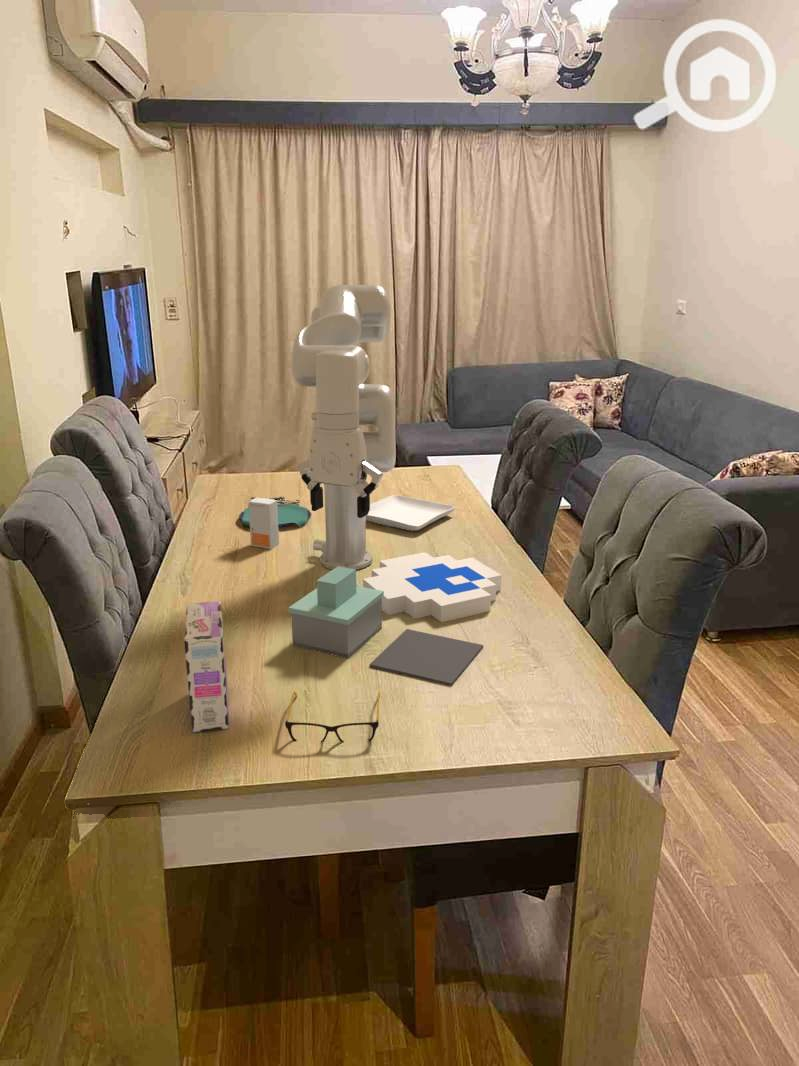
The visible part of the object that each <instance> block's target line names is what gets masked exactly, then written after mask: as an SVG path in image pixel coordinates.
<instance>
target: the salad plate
mask: <svg viewBox="0 0 799 1066" xmlns="http://www.w3.org/2000/svg"><path fill="white" fill-rule="evenodd" d="M455 509H456V506H454V505H452V504H451V505H450V504H446V503H441V502H436V501H433V500H426V499H421V498H417V497H410V496H405V495H399V494H392V495H389V496H387V497H385V498H382V499H380V500H378V501H376V502H372V503H370V511H369V513H368V515H366V521H368V522H371V523H372V522H373V523H372V524H376V523H377V525H380V524H382V525H381V526H385V525H387V526H386V527H390V526H391V527H390V528H394V527H396V528H395V529H399V528H401V529H400V530H404V529H406V530H405V531H409V530H410V531H412V532H416V531H419V530H421V529H423V528H424V527H426V526H429V525H430V524H432V523H434V522H436V521H438V520H441V518H444V517H446V516H448V515H449V514H451V513H452V512H454V511H455Z"/></svg>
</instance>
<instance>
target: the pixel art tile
mask: <svg viewBox="0 0 799 1066" xmlns="http://www.w3.org/2000/svg"><path fill="white" fill-rule="evenodd" d="M362 587H365V588H370V589H375V590H380V591H384V596H383V597H382V612H383V613H385V614H386V615H387V614H388V615H387V616H390V615H395V614H399V612H400V613H403V612H405V613H406V614H408V615H409V616H410V615H411V616H410V617H412V618H413V619H419V618H422V617H423V616H424V617H428V616H432V617H433V618H435V619H436V620H437V621H438V622H440V623H443V622H447V621H448V622H449V621H452V620H453V621H454V620H457V619H462V618H466V617H469V616H470V617H471V616H475V615H479V614H483V613H487V612H491V610H492V609H491V607H492V602H494V601H496V600H497V592H499V591H502V574H500V573H499V572H497V571H495V570H494V569H492V568H490V567H489V566H487V565H485V564H483V563H482V562H481V561H479V560H477V559H476V558H474V557H467V558H464V559H459V560H458V559H456V558H454V557H452V556H451V555H450V554H447V555H441V556H436V557H433V556H432V555H430V554H428V553H427V552H420V553H414V554H413V553H412V554H409V555H402V556H398V557H393V558H388V559H387V558H386V559H383V560H379V568H373V569H371V577H367V578H362ZM394 613H395V614H394ZM389 614H390V615H389Z"/></svg>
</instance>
